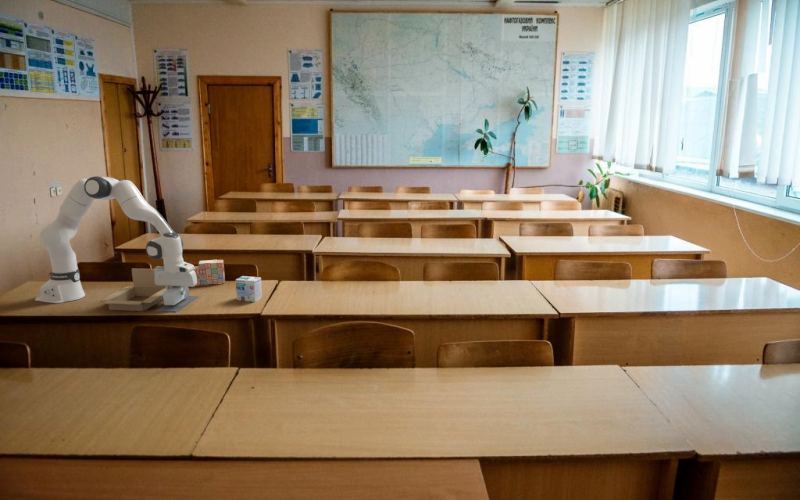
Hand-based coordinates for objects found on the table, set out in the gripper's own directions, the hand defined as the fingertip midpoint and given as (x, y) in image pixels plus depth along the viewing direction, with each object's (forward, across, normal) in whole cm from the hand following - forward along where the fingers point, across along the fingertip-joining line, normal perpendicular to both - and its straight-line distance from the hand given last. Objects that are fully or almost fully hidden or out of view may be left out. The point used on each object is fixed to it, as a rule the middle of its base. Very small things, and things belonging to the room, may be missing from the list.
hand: (177, 294), depth 286 cm
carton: (+5, -20, -2) cm, 21 cm away
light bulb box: (+5, +32, +10) cm, 34 cm away
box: (+3, 0, 0) cm, 3 cm away
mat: (+5, 0, 0) cm, 5 cm away
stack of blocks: (+5, -2, +33) cm, 33 cm away
